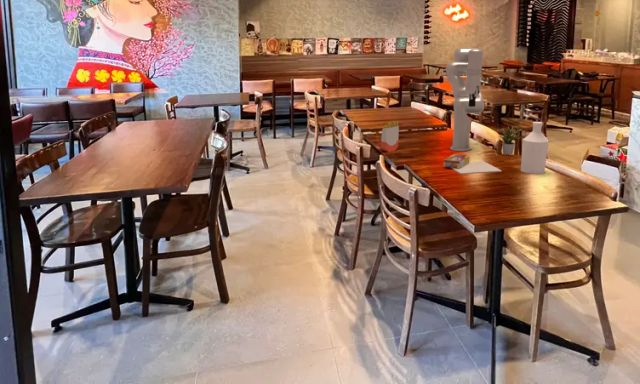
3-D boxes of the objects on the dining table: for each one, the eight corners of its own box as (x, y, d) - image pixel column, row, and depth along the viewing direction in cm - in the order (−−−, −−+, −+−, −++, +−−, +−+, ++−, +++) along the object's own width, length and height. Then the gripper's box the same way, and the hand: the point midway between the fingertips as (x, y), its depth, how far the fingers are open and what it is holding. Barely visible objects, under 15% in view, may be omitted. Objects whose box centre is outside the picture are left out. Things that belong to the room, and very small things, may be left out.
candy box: (453, 161, 283) (443, 166, 272) (454, 153, 282) (443, 158, 270) (469, 163, 279) (459, 168, 267) (470, 155, 277) (459, 160, 265)
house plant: (523, 157, 291) (526, 128, 286) (498, 156, 294) (500, 128, 289) (519, 151, 304) (522, 124, 299) (495, 150, 307) (497, 123, 302)
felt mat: (445, 164, 278) (445, 163, 278) (483, 162, 281) (483, 161, 281) (460, 174, 259) (460, 173, 259) (501, 171, 263) (501, 170, 262)
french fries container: (380, 151, 311) (381, 122, 306) (392, 148, 318) (393, 119, 312) (386, 152, 308) (386, 123, 303) (398, 149, 315) (399, 120, 309)
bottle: (524, 166, 271) (529, 119, 263) (548, 170, 264) (553, 121, 256) (516, 171, 262) (521, 123, 255) (540, 175, 255) (546, 125, 247)
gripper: (462, 71, 285) (459, 104, 291) (473, 74, 271) (471, 108, 277) (474, 71, 286) (472, 104, 292) (487, 73, 272) (484, 108, 278)
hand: (471, 106), depth 284 cm, fingers closed
